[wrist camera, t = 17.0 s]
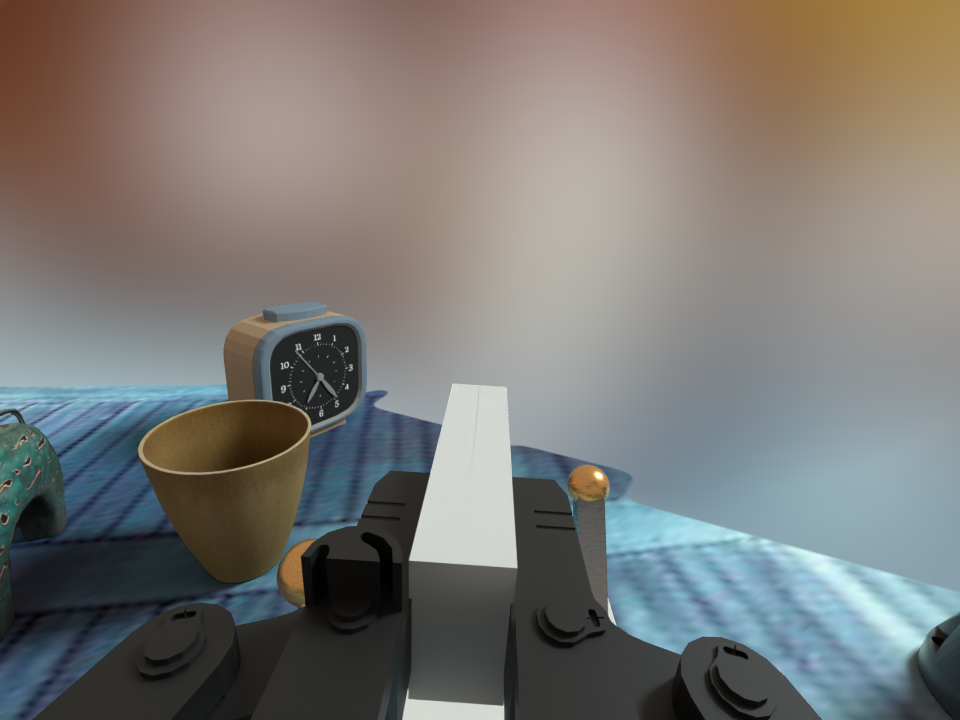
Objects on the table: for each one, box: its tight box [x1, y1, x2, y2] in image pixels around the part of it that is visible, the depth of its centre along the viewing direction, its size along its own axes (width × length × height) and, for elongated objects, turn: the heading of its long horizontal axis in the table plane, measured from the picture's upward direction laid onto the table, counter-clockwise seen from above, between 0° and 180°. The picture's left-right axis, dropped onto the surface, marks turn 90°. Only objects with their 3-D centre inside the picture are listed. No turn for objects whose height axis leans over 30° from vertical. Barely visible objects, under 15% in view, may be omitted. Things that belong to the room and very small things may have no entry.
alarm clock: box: [224, 302, 367, 438], centre depth 75 cm, size 21×10×22 cm, turn 147°
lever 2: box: [568, 465, 609, 614], centre depth 33 cm, size 3×3×14 cm
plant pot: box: [138, 400, 311, 583], centre depth 47 cm, size 15×15×16 cm
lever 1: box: [277, 539, 317, 609], centre depth 27 cm, size 3×3×14 cm
